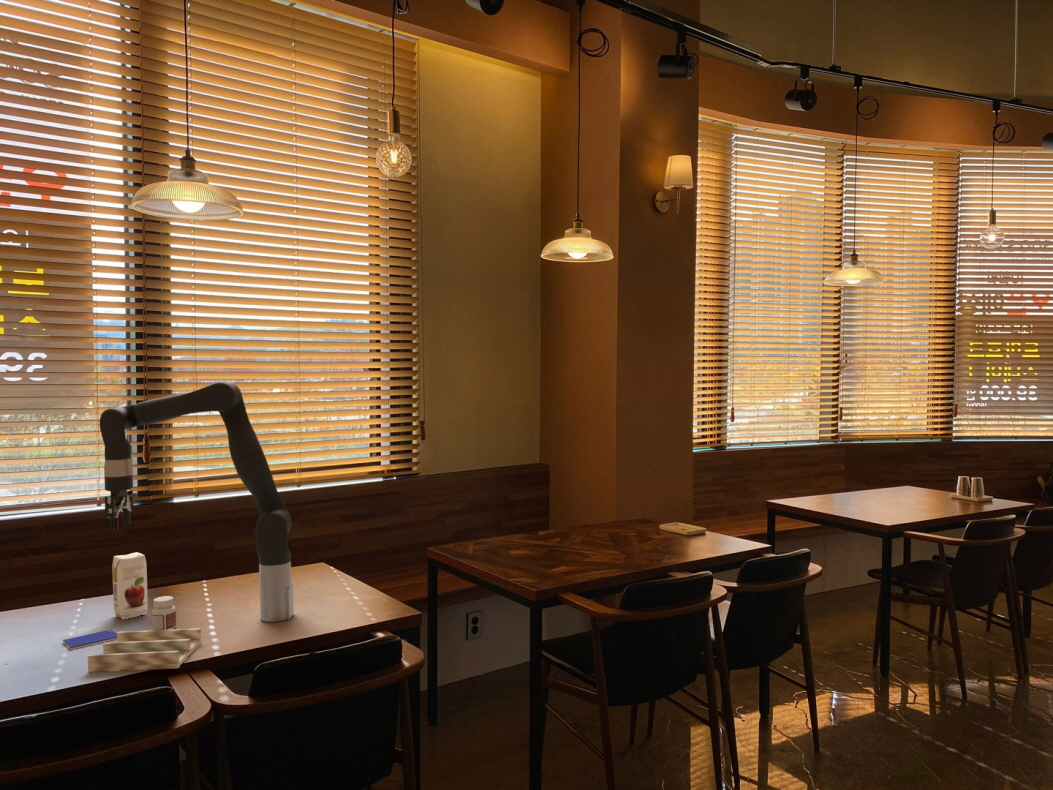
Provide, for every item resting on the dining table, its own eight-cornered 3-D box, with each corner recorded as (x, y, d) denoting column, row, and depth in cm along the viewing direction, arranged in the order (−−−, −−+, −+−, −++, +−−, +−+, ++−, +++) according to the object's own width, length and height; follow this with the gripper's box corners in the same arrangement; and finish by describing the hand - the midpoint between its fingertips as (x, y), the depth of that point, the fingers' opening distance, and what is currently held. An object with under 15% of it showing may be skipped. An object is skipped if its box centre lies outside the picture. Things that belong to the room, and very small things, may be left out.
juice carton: (111, 616, 240) (109, 556, 239) (140, 609, 246) (138, 550, 246) (121, 621, 235) (119, 559, 234) (150, 614, 241) (148, 554, 241)
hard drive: (111, 628, 226) (62, 639, 217) (119, 635, 220) (70, 646, 211) (111, 633, 226) (63, 644, 217) (119, 640, 220) (70, 652, 211)
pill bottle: (176, 632, 225) (175, 594, 224) (176, 639, 219) (175, 599, 219) (152, 636, 222) (151, 597, 221) (152, 642, 216) (151, 603, 216)
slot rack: (201, 643, 216) (201, 628, 216) (178, 668, 198) (177, 652, 197) (119, 646, 214) (118, 631, 213) (88, 672, 196) (87, 656, 195)
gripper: (121, 477, 224) (123, 532, 225) (141, 470, 238) (142, 522, 239) (94, 477, 224) (96, 533, 224) (115, 471, 238) (117, 523, 238)
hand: (120, 527), depth 232 cm, fingers open, 8 cm apart
